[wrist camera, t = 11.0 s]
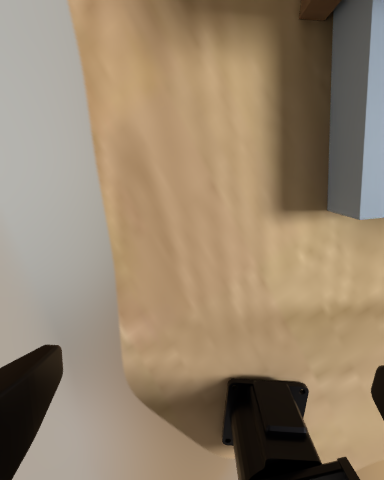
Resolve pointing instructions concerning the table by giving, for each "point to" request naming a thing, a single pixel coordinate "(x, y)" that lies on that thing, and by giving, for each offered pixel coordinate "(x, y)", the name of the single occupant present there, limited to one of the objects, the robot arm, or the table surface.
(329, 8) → the wooden arch
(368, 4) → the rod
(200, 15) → the table surface
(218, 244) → the table surface
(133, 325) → the table surface
